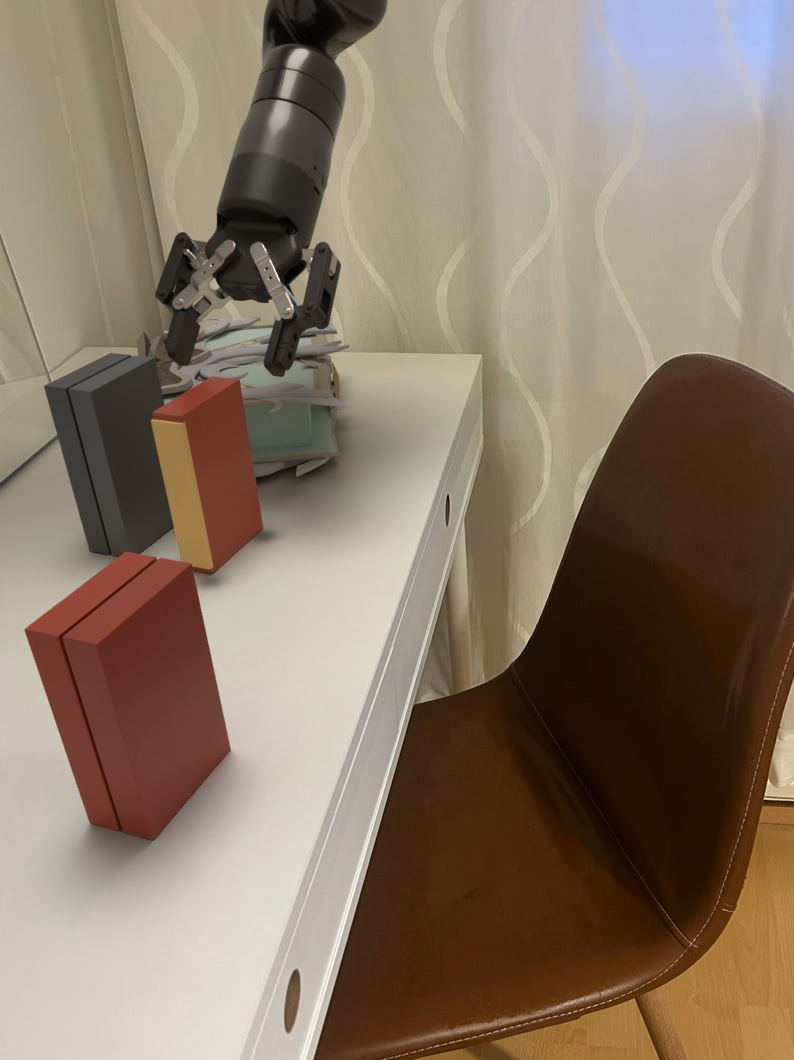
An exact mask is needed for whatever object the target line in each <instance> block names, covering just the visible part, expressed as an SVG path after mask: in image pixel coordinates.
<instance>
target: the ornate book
mask: <svg viewBox="0 0 794 1060" xmlns="http://www.w3.org/2000/svg"><path fill="white" fill-rule="evenodd" d="M335 316H336V314H333V313H331V317H330V322H329V325H328V326H327V327H326V328H325V329H318V328H317V327H313V328H310V329H307V330H306V331H305V332H304V333H303V334H301V336H300V340H299V343H298V347H297V351H296V354H295V357H294V362H293V365H292V366H291V368H290V369H289V370H286V371H285V375H284V376H283V377H276V376H273V375H272V374H271V373H270V372H269V371H268V370H267V369H266V368H265V366H264V358H265V355H266V351H267V347H268V344H269V340H270V336H271V333H272V329H273V326H274V322H269V323H268V322H267V323H258V322H261V321H262V318H261V316H260V317H259V316H250V317H245V318H239V319H233V320H229V318H226V317H212V318H211V317H210V318H204V319H202V320H201V321H200V322H199V323H202V322H207V321H218V322H217V324H213V325H209V326H201V327H200V330H199V333H198V337H197V340H196V344H195V347H194V351H193V354H192V358H191V361H190V364H189V365H188V366H180V365H178V364H176V363H175V362H174V361H173V360H172V359H171V358H170V357H169V356H168V353H167V350H166V349H165V341H166V338H167V334H168V332H169V329H168V330H163V331H161V334H160V335H156V336H155V337H154V338H153V340H152V342H151V341H150V339H149V337H148V335H147V334H146V332H145V331H144V330H143V331H142V333H141V334H140V335H139V337H138V338H137V340H136V347H137V356H144V357H153V358H155V361H156V366H157V370H158V375H159V380H160V385H161V390H162V395H163V399H164V404H167V403H169V402H170V401H172V400H174V399H175V398H177V397H179V396H180V395H182V394H184V393H185V392H187V391H189V390H190V389H192V388H193V387H195V386H197V385H198V384H200V383H202V382H203V381H205V380H207V379H208V378H210V377H212V376H214V377H223V378H232V379H240V384H241V391H242V397H243V403H244V409H245V416H246V422H247V428H248V434H249V441H250V447H251V453H252V459H253V466H254V472H255V478H259V477H260V478H261V477H265V476H269V475H272V474H274V473H277V472H278V471H280V470H285V469H290V468H292V467H295V466H296V471H295V476H296V478H298V477H300V476H302V475H304V474H306V473H308V472H310V471H311V472H312V471H313V470H315V469H316V468H318V467H320V466H322V465H324V464H326V463H327V462H328V461H329V460H330V459H331V458H337V457H340V449H339V446H338V442H337V438H336V426H337V419H336V418H333V417H332V413H334V412H336V411H337V408H344V409H345V408H346V409H353V407H352V406H350V405H348V404H347V403H345V402H344V401H342V400H340V399H341V397H340V391H341V385H340V377H339V372H338V371H337V369H336V367H335V364H334V362H333V361H332V356H331V355H330V354H335V353H338V352H341V351H344V350H347V349H349V348H350V344H344V345H341V344H343V341H342V339H339V340H332V341H329V342H328V339H327V337H326V335H338V330H337V329H336V327H335V325H334V323H333V322H332V321H333V320H334V318H335ZM273 318H274V319H273V320H274V321H275V320H278V321H280V319H281V317H280V315H279V314H276V315H274V316H273ZM150 342H151V343H150Z"/></svg>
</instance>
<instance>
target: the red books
mask: <svg viewBox="0 0 794 1060" xmlns="http://www.w3.org/2000/svg"><path fill="white" fill-rule="evenodd" d="M24 634H25V637H26V639H27V642H28V645H29V647H30V650H31V654H32V657H33V660H34V663H35V665H36V669H37V671H38V672H37V673H38V674H39V678H40V680H41V684H42V687H43V689H44V692H45V695H46V699H47V702H48V704H49V708H50V711H51V713H52V717H53V719H54V722H55V725H56V728H57V731H58V734H59V737H60V740H61V743H62V746H63V749H64V751H65V754H66V758H67V761H68V762H69V766H70V769H71V773H72V775H73V777H74V778H73V779H74V782H75V784H76V787H77V789H78V790H77V791H78V793H79V795H80V799H81V801H82V805H83V808H84V810H85V813H86V817H87V820H88V823H89V824H91V825H96V826H99V827H102V828H106V829H111V830H112V831H113V830H114V831H116V832H117V831H118V832H121V831H122V833H124V834H129V835H131V836H136V837H140V838H142V839H147V840H151V841H154V840H155V839H156V838H157V837H158V835H159V834H160V833H161V832H162V831H163V830H164V829H165V827H166V826H167V825H168V824H169V822H171V820H172V819H173V818H174V816H176V815H177V813H178V812H180V810H181V809H182V807H183V806H184V805H185V803H186V802H188V800H189V799H190V798H191V796H192V795H193V794H194V793H195V792H196V791H197V790H198V788H200V786H202V784H203V782H204V781H205V780H206V779H207V778H208V777H209V775H210V774H211V773H212V772H213V771H214V770H215V768H216V767H217V766H218V765H219V763H220V762H221V761H222V760H223V759H224V758H225V756H226V755H227V754H228V753H229V752H230V750H231V748H232V747H231V743H230V738H229V733H228V729H227V724H226V720H225V719H226V718H225V715H224V710H223V706H222V701H221V700H222V699H221V696H220V690H219V687H218V681H217V677H216V676H217V675H216V672H215V668H214V662H213V658H212V653H211V648H210V643H209V640H208V634H207V630H206V625H205V620H204V614H203V610H202V605H201V602H200V597H199V592H198V587H197V582H196V577H195V572H194V570H193V567H192V564H191V563H187V562H181V560H176V559H169V558H163V557H160V558H158V557H156V556H153V555H147V554H141V553H139V554H136V553H131V552H125V553H123V554H122V555H121V556H117V558H116V559H114V560H113V561H112V562H110V563H109V564H108V565H106V566H105V567H103V569H101V570H99V571H98V572H96V574H95V575H93V576H92V577H90V578H89V579H87V580H86V582H84V583H83V584H81V585H80V586H79V587H77V588H76V589H74V590H73V591H72V592H70V593H69V594H68V595H67V596H66V597H64V598H63V599H62V600H60V601H59V602H58V603H56V604H54V606H52V607H51V608H50V609H48V610H47V611H45V613H43V614H42V615H40V616H39V617H38V618H37V619H36V620H34V621H33V622H32V623H30V624H29V625H27V626H26V627H25V628H24Z"/></svg>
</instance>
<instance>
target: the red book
mask: <svg viewBox="0 0 794 1060" xmlns="http://www.w3.org/2000/svg"><path fill="white" fill-rule="evenodd" d="M152 415H153V419H152V420H151V424H152V429H153V433H154V438H155V442H156V447H157V452H158V456H159V461H160V465H161V470H162V475H163V479H164V484H165V488H166V493H167V497H168V502H169V507H170V511H171V516H172V520H173V525H174V527H173V529H174V534H175V539H176V542H177V548H178V551H179V558H180V561H181V562H187V563H191V564H192V567H193V571H197V572H201V573H207V574H214V573H215V572H216V571H218V569H220V568H221V567H222V566H223V565H224V564H225V563H226V562H228V561H229V560H230V558H232V557H233V556H234V555H235V554H236V553H237V552H238V551H240V550H241V549H242V548H243V547H245V545H247V544H248V543H249V542H250V541H251V540H252V539H253V538H254V537H255V536H257V535H258V534H259V533H260V532H261V531H262V530H263V529H264V523H263V517H262V510H261V504H260V497H259V491H258V486H257V485H258V484H257V479H256V478H257V477H255V472H254V466H253V459H252V453H251V447H250V441H249V434H248V428H247V422H246V416H245V409H244V403H243V397H242V391H241V384H240V379H232V378H223V377H214V376H212V377H210V378H208V379H207V380H205V381H203V382H202V383H200V384H198V385H197V386H195V387H193V388H192V389H190V390H189V391H187V392H185V393H184V394H182V395H180V396H179V397H177V398H175V399H174V400H172V401H170V402H169V403H167V404H165V405H164V406H162V407H160V408H159V409H157V410H155V411H154V412H152Z"/></svg>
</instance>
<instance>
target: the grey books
mask: <svg viewBox="0 0 794 1060" xmlns="http://www.w3.org/2000/svg"><path fill="white" fill-rule="evenodd" d="M43 389H44V392H45V396H46V400H47V403H48V406H49V410H50V413H51V418H52V421H53V423H54V428H55V432H56V435H57V440H58V442H59V447H60V450H61V454H62V457H63V460H64V461H63V462H64V464H65V468H66V471H67V475H68V478H69V483H70V486H71V489H72V490H71V491H72V493H73V497H74V500H75V504H76V507H77V511H78V515H79V518H80V521H81V526H82V529H83V532H84V537H85V540H86V543H87V547H88V551H89V552H91V553H98V554H103V555H108V556H110V555H111V556H113V557H119V556H121V555H122V554H123V553H125V552H131V553H136V554H141V553H142V552H143V551H145V550H146V549H147V548H148V547H149V546H151V545H152V544H153V543H155V542H156V541H157V540H158V539H160V538H161V537H163V536H164V535H165V534H167V533H168V532H169V531H171V529H174V525H173V520H172V516H171V511H170V507H169V502H168V497H167V493H166V488H165V484H164V479H163V475H162V470H161V465H160V461H159V456H158V452H157V447H156V442H155V438H154V433H153V429H152V424H151V420H152V419H153V415H152V412H154V411H155V410H157V409H159V408H160V407H162V406H164V405H165V404H164V399H163V395H162V390H161V385H160V380H159V375H158V370H157V366H156V361H155V358H153V357H144V356H138V355H131V354H124V353H114V352H110V353H108V354H105V355H104V356H101V357H99V358H98V359H96V360H94V361H91V362H90V363H88V364H85V365H84V366H82V367H79V368H78V369H77V368H76V369H75V370H73V371H71V372H69V373H67V374H65V375H63V376H61V377H59V378H57V379H54V380H52V381H51V382H49V383H47V384H45V385H44V386H43Z"/></svg>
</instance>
